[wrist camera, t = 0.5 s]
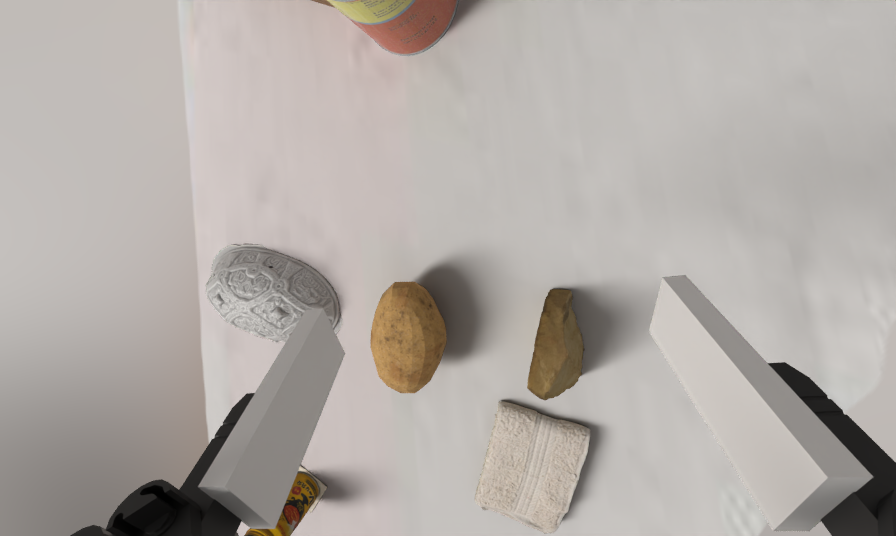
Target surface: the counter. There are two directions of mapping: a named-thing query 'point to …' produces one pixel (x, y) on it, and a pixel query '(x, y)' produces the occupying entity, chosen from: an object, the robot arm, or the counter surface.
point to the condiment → (295, 505)
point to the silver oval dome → (267, 291)
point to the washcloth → (532, 467)
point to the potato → (407, 337)
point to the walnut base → (324, 2)
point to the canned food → (400, 22)
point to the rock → (556, 348)
